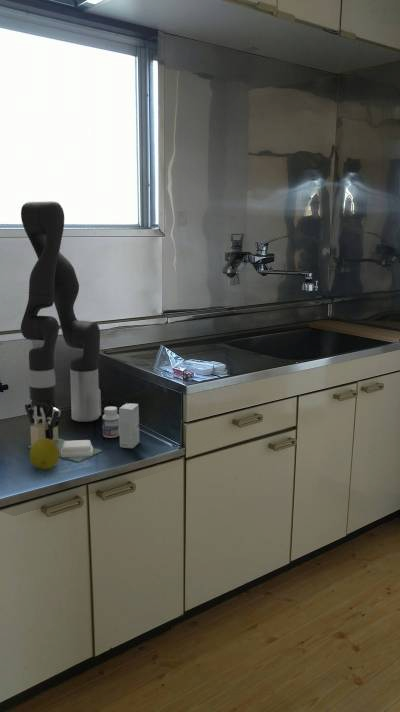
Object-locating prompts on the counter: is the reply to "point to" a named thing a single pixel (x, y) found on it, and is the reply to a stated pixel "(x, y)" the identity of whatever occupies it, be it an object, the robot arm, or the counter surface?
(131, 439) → the skincare box
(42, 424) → the pale green tray
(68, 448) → the soap
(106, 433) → the pill bottle
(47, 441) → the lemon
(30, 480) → the counter surface
